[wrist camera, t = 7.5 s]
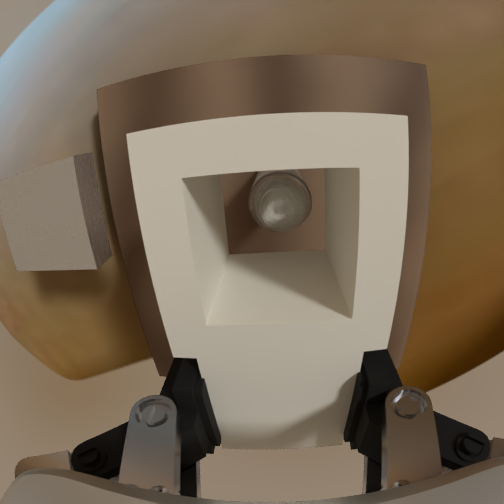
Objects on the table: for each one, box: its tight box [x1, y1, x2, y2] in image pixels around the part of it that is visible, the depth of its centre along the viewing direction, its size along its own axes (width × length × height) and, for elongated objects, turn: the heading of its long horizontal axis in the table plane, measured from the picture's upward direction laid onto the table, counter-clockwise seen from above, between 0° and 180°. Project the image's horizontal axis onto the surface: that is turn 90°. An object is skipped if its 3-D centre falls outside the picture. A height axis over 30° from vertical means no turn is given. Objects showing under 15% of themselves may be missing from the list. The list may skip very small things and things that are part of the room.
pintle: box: [248, 169, 312, 233], centre depth 11 cm, size 2×2×6 cm
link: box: [126, 112, 409, 449], centre depth 9 cm, size 13×5×4 cm, turn 5°
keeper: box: [0, 152, 112, 271], centre depth 14 cm, size 6×5×6 cm
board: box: [97, 55, 431, 377], centre depth 16 cm, size 17×19×2 cm
